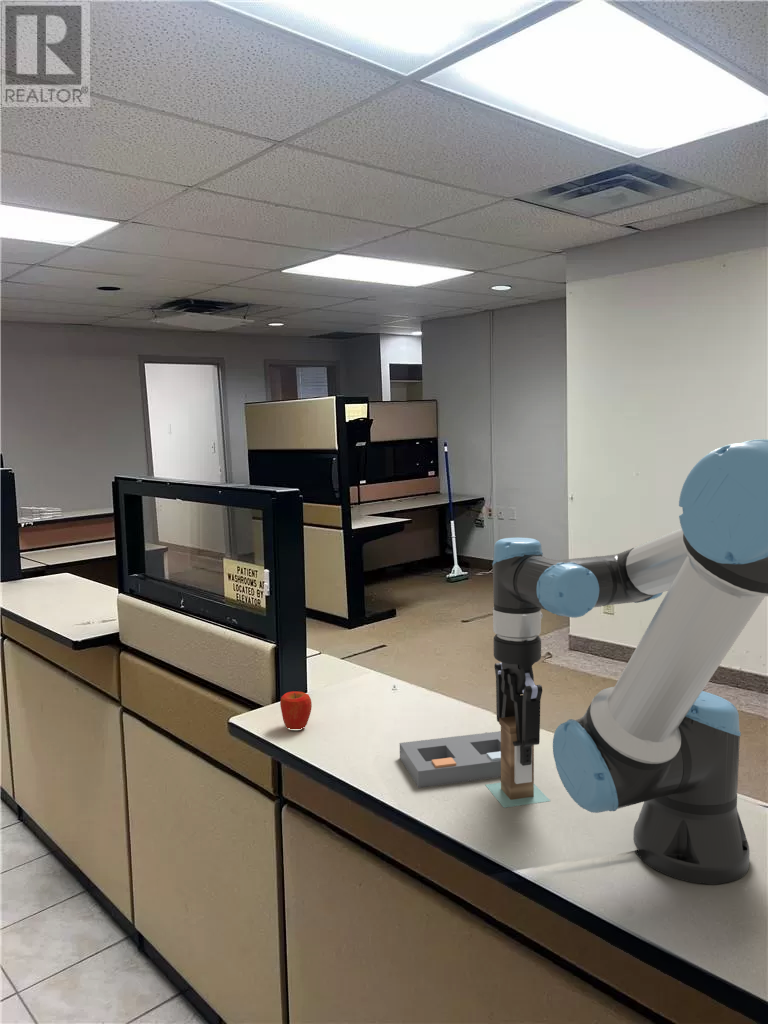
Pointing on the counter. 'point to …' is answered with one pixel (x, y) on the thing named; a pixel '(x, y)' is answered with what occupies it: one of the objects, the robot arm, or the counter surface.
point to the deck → (506, 802)
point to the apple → (295, 709)
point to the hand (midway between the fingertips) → (517, 775)
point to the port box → (453, 759)
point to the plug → (512, 762)
